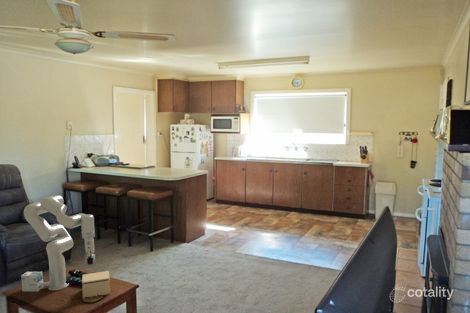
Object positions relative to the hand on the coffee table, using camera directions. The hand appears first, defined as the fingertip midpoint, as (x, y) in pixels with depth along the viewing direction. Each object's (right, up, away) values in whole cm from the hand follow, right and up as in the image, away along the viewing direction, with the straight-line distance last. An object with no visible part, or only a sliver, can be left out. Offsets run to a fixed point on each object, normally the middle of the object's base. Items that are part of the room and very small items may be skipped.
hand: (90, 262), depth 228 cm
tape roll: (0, -1, 0) cm, 1 cm away
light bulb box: (-41, -20, +8) cm, 46 cm away
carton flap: (+3, -11, +2) cm, 11 cm away
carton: (+3, -20, +3) cm, 20 cm away
